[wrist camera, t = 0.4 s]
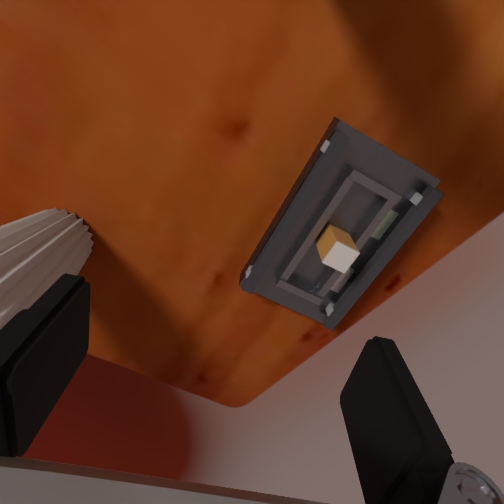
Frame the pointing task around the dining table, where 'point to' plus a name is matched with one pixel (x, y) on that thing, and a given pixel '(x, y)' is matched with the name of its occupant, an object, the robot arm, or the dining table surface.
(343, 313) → the pair of grey rails
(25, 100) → the dining table surface
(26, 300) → the vase
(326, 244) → the block
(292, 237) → the panel
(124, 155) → the dining table surface
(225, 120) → the dining table surface
